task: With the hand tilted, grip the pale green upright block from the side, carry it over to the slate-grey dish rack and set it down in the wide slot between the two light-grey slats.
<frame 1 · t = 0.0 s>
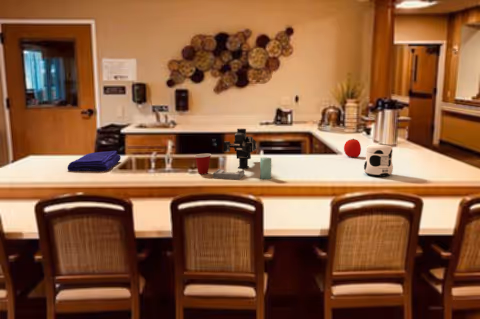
hand: (235, 148, 292), 17 cm above the counter, tool horizontal, fingers open, 9 cm apart
tomato: (352, 157, 362), on the counter
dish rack: (229, 176, 293), on the counter
plastic cup: (202, 173, 301), on the counter
towel: (95, 167, 322), on the counter
milk container: (377, 175, 300), on the counter
pale green upright block: (265, 178, 289), on the counter
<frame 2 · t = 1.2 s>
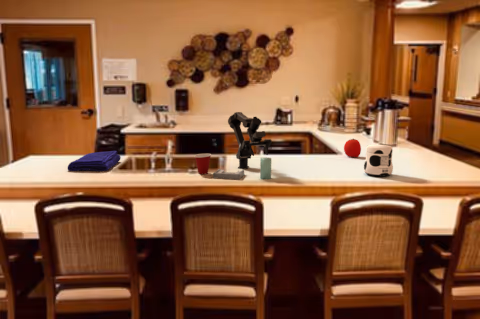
hand: (260, 155, 293), 13 cm above the counter, tool tilted 45°, fingers open, 9 cm apart
nothing on the counter moved.
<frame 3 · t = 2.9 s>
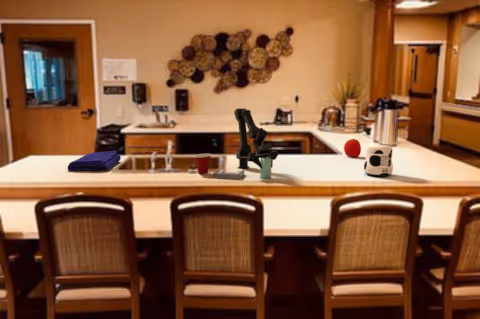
hand: (266, 167, 286), 7 cm above the counter, tool tilted 45°, fingers closed on pale green upright block, 6 cm apart
pale green upright block: (265, 178, 289), on the counter, touching gripper
everything else where it was.
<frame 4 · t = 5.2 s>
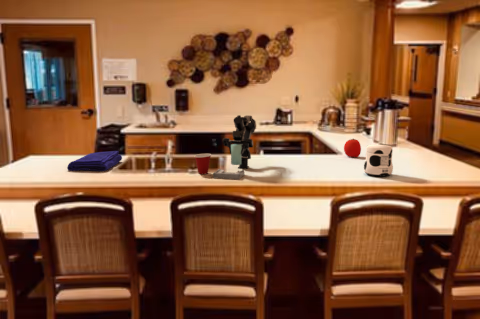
hand: (235, 153, 296), 13 cm above the counter, tool tilted 45°, fingers closed on pale green upright block, 6 cm apart
pale green upright block: (236, 163, 298), point 6 cm above the counter, touching gripper
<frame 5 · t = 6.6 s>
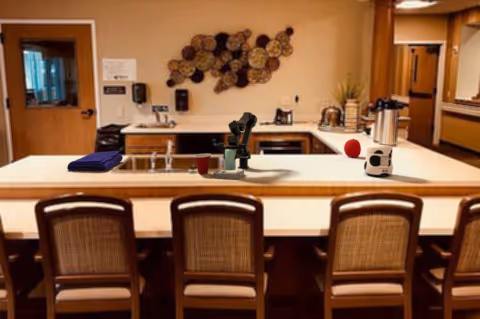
hand: (229, 159, 292), 11 cm above the counter, tool tilted 45°, fingers closed on pale green upright block, 6 cm apart
pale green upright block: (230, 169, 294), point 4 cm above the counter, touching gripper
when the fingers open (9 cm above the counter, at t = 7.5 s): pale green upright block drops 2 cm, resting on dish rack.
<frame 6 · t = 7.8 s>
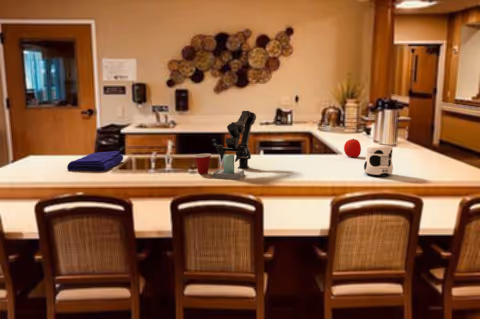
hand: (228, 161, 290), 10 cm above the counter, tool tilted 45°, fingers open, 9 cm apart
pale green upright block: (229, 174, 293), point 1 cm above the counter, touching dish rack
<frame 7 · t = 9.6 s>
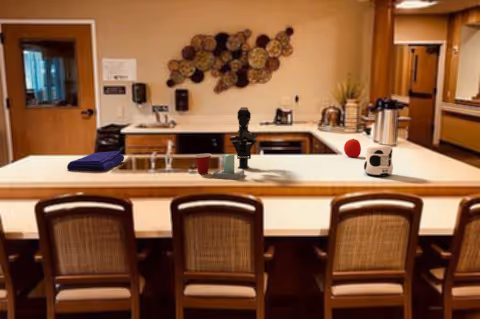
hand: (243, 154, 299), 12 cm above the counter, tool tilted 15°, fingers open, 9 cm apart
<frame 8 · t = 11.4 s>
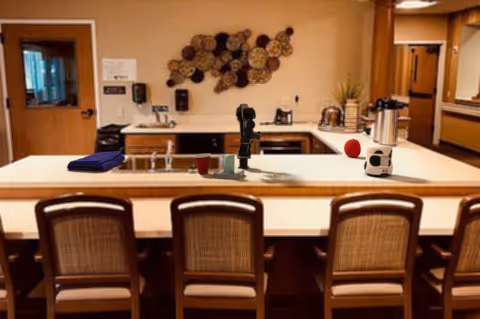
hand: (247, 152, 301), 13 cm above the counter, tool pointing down, fingers open, 9 cm apart
at the end: pale green upright block inside the target area on the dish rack (0.2 cm from its centre), point 1.1 cm above the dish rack's base; pale green upright block tilted 1°; the gripper is holding nothing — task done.
